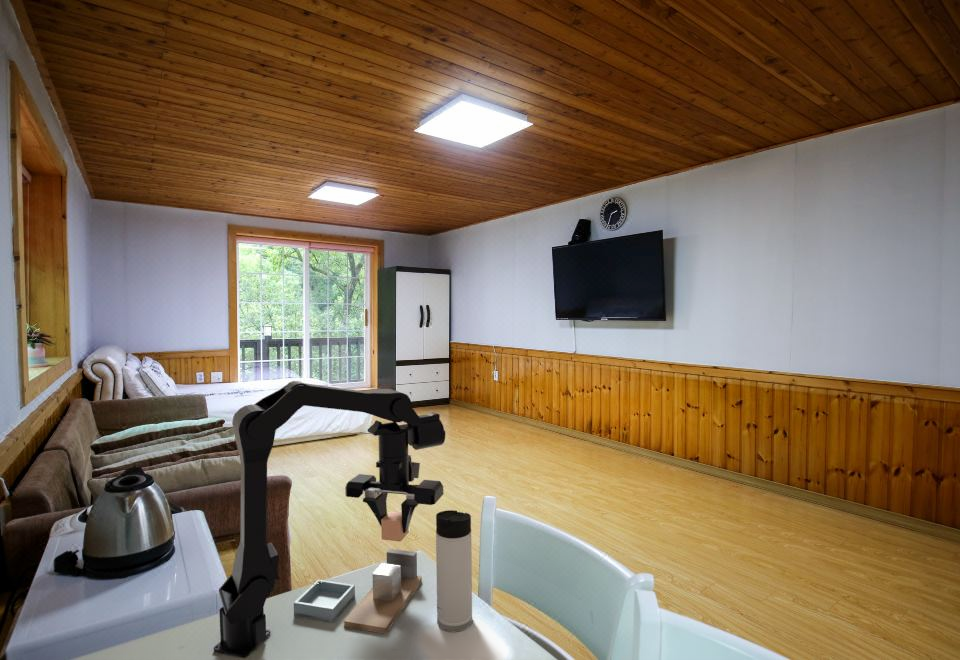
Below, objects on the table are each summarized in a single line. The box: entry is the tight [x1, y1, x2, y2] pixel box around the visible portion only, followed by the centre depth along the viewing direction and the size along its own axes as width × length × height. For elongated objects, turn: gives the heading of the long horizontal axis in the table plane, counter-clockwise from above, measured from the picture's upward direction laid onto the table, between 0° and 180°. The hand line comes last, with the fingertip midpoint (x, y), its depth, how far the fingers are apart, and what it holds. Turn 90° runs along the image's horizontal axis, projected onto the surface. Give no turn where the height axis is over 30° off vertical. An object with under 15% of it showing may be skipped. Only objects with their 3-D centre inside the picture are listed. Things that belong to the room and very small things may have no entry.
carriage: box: [372, 562, 401, 602], centre depth 98 cm, size 4×4×5 cm
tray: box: [293, 579, 356, 624], centre depth 96 cm, size 8×8×2 cm
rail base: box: [343, 548, 423, 635], centre depth 97 cm, size 8×17×6 cm, turn 165°
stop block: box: [380, 510, 410, 543], centre depth 101 cm, size 4×4×4 cm
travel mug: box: [435, 509, 473, 633], centre depth 91 cm, size 6×7×20 cm
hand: (395, 531), depth 101 cm, fingers closed on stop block, 4 cm apart
